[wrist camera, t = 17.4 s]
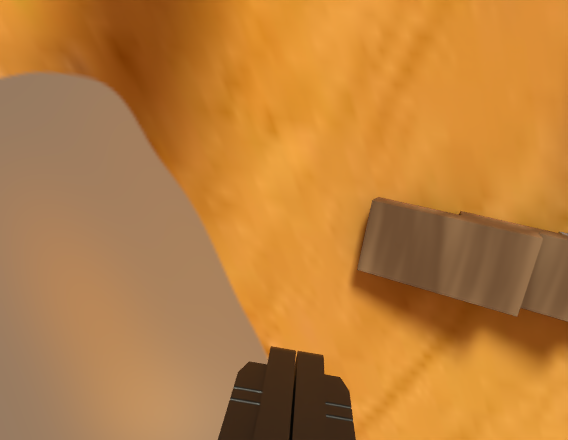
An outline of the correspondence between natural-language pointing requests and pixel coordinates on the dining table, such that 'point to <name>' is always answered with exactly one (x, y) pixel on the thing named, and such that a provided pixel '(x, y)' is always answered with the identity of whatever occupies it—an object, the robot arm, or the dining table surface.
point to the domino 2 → (545, 273)
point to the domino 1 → (450, 254)
